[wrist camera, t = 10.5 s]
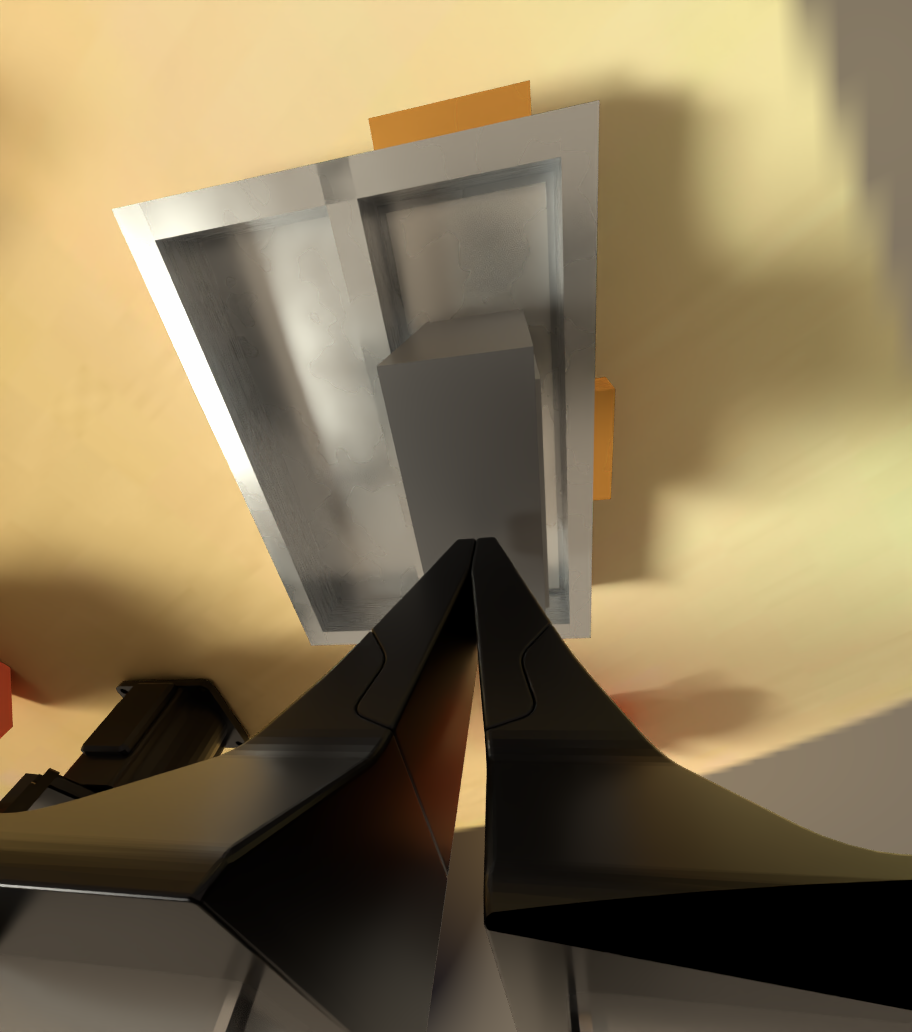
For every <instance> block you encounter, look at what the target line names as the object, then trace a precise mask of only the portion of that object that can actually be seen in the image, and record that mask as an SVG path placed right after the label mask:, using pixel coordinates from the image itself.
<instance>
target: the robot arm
mask: <svg viewBox="0 0 912 1032" xmlns="http://www.w3.org/2000/svg"><path fill="white" fill-rule="evenodd" d="M477 663H478V664H479V676H480V688H481V699H482V711H483V722H484V732H485V746H486V763H487V780H486V819H485V858H484V926H485V929H486V932H487V936H488V939H489V942H490V945H491V949H492V952H493V955H494V958H495V961H496V965H497V968H498V971H499V974H500V978H501V981H502V984H503V987H504V990H505V993H506V997H507V1000H508V1003H509V1007H510V1010H511V1013H512V1016H513V1019H514V1023H515V1026H516V1029H517V1032H912V855H908V854H895V853H887V852H879V851H874V850H869V849H865V848H861V847H857V846H852V845H848V844H846V843H843V842H840V841H837V840H833V839H831V838H828V837H825V836H822V835H820V834H817V833H815V832H813V831H811V830H808V829H806V828H804V827H802V826H799V825H797V824H795V823H793V822H791V821H790V820H787V819H786V818H784V817H781V816H780V815H777V814H776V813H774V812H771V811H770V810H768V809H765V808H764V807H761V806H760V805H758V804H755V803H754V802H752V801H750V800H748V799H745V798H744V797H742V796H740V795H737V794H736V793H733V792H731V791H730V790H727V789H726V788H723V787H722V786H720V785H718V784H716V783H714V782H712V781H709V780H708V779H706V778H704V777H702V776H700V775H698V774H696V773H694V772H692V771H690V770H688V769H686V768H684V767H682V766H680V765H678V764H677V763H675V762H674V761H672V760H671V759H669V758H668V757H667V756H665V755H664V754H663V753H662V752H660V751H659V750H658V749H657V748H656V747H655V746H654V745H653V744H652V743H651V742H649V740H648V739H647V738H646V737H645V736H644V735H643V734H642V733H641V732H640V731H639V730H638V728H637V727H636V726H635V725H634V724H633V723H632V722H631V721H630V719H629V718H628V717H627V716H626V715H625V714H624V713H623V712H622V710H621V709H620V708H619V707H618V706H617V705H616V704H615V703H614V702H613V700H612V699H611V698H610V697H609V696H608V695H607V694H606V693H605V691H604V690H603V689H602V688H601V687H600V686H599V685H598V684H597V682H596V681H595V680H594V679H593V678H592V677H591V675H590V674H589V673H588V672H587V671H586V669H585V668H584V667H583V666H582V665H581V663H580V662H579V661H578V660H577V659H576V657H575V656H574V655H573V653H572V652H571V650H570V649H569V648H568V646H567V645H566V644H565V642H564V641H563V639H562V638H561V636H560V635H559V633H558V632H557V630H556V629H555V627H554V626H552V623H551V621H550V620H549V618H548V617H547V615H546V614H545V612H544V611H543V609H542V608H541V606H540V605H539V603H538V602H537V600H536V599H535V597H534V595H533V594H532V592H531V591H530V589H529V588H528V586H527V585H526V583H525V582H524V580H523V579H522V577H521V576H520V574H519V573H518V571H517V570H516V568H515V566H514V565H513V563H512V562H511V560H510V559H509V557H508V556H507V554H506V553H505V551H504V550H503V548H502V547H501V545H500V544H499V542H498V541H497V539H496V538H495V537H483V538H478V539H477V540H475V539H474V538H469V539H458V540H456V541H455V542H454V543H453V545H452V546H451V547H450V548H449V549H448V550H447V551H446V552H445V553H444V554H443V555H442V556H441V557H440V558H439V559H438V560H437V561H436V562H435V563H434V564H433V566H432V567H431V568H430V569H429V570H428V571H427V572H426V573H425V574H424V575H423V576H422V577H421V578H420V579H419V580H418V581H417V582H416V583H415V584H414V585H413V586H412V588H411V589H410V590H409V591H408V592H407V593H406V594H405V595H404V596H403V597H402V598H401V599H400V600H399V601H398V602H397V603H396V604H395V605H394V606H393V607H392V608H391V610H390V611H389V612H388V613H387V614H386V615H385V616H384V617H383V618H382V619H381V620H380V621H379V622H378V623H377V624H376V625H375V626H374V627H373V628H372V632H371V631H370V632H368V633H367V635H366V636H365V637H364V638H363V639H362V640H361V641H360V642H359V643H358V644H357V645H356V646H355V647H354V648H353V649H352V650H351V651H350V652H349V653H348V654H347V655H346V656H345V657H344V658H343V659H342V660H341V661H340V662H339V663H338V664H337V665H335V666H334V667H333V668H332V669H331V670H330V671H329V672H328V673H327V674H325V675H324V676H323V677H322V678H321V679H320V680H319V681H318V682H317V683H315V684H314V685H313V686H312V687H311V688H310V689H309V690H307V691H306V692H305V693H304V694H303V695H302V696H300V697H299V698H298V699H297V700H296V701H295V702H294V703H292V704H291V705H290V706H289V707H288V708H287V709H285V710H284V711H283V712H282V713H281V714H280V715H279V716H277V717H276V718H275V719H274V720H273V721H272V722H270V723H269V724H268V725H267V726H266V727H265V728H264V729H262V730H261V731H260V732H259V733H257V734H256V735H255V736H254V737H252V738H251V739H249V737H248V736H247V734H246V733H245V731H244V730H243V728H242V727H241V725H240V724H239V722H238V721H237V719H236V718H235V716H234V715H233V713H232V712H231V710H230V709H229V707H228V706H227V704H226V703H225V701H224V700H223V698H222V697H221V695H220V694H219V692H218V691H217V689H216V688H215V687H214V685H213V684H212V683H211V682H209V681H207V680H150V681H122V682H121V683H120V684H119V686H118V687H117V688H116V690H117V692H118V693H119V694H120V695H121V696H122V697H123V699H122V700H121V701H120V702H119V703H118V704H117V705H116V707H115V708H114V709H113V710H112V711H111V712H110V714H109V715H108V716H107V717H106V718H105V719H104V721H103V722H102V723H101V724H100V725H99V726H98V728H97V729H96V730H95V731H94V732H93V733H92V735H91V736H90V737H89V738H88V739H87V740H86V742H85V743H84V744H83V746H82V748H81V751H82V752H83V754H82V755H81V756H80V757H79V758H78V760H77V761H76V762H75V763H74V764H73V765H72V767H71V768H70V769H69V770H68V771H67V773H66V774H65V775H64V776H61V775H59V773H60V772H58V771H55V770H53V769H51V768H49V769H48V770H47V772H46V773H45V774H44V775H40V774H39V775H37V774H27V773H26V774H25V775H24V776H23V777H22V778H21V779H20V780H19V781H18V783H17V784H16V785H15V786H14V787H13V788H12V789H11V790H10V791H9V792H8V793H7V794H6V796H5V797H4V798H3V799H2V800H1V801H0V1032H426V1029H427V1022H428V1015H429V1008H430V1001H431V993H432V986H433V979H434V972H435V965H436V958H437V951H438V943H439V937H440V929H441V922H442V915H443V908H444V900H445V893H446V886H447V877H446V876H447V875H448V871H449V864H450V857H451V849H452V842H453V835H454V828H455V821H456V814H457V807H458V800H459V792H460V785H461V778H462V771H463V764H464V757H465V749H466V742H467V735H468V728H469V721H470V714H471V706H472V699H473V692H474V685H475V678H476V671H477ZM224 748H235V749H233V750H231V751H229V752H227V753H224V754H222V755H221V753H222V751H223V749H224Z"/></svg>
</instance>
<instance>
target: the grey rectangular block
mask: <svg viewBox="0 0 912 1032" xmlns="http://www.w3.org/2000/svg"><path fill="white" fill-rule="evenodd" d="M376 367H377V372H378V376H379V380H380V385H381V389H382V394H383V398H384V402H385V407H386V411H387V415H388V420H389V424H390V429H391V433H392V437H393V442H394V446H395V451H396V455H397V459H398V464H399V468H400V472H401V477H402V481H403V486H404V490H405V494H406V499H407V503H408V507H409V512H410V516H411V521H412V525H413V529H414V534H415V538H416V542H417V547H418V551H419V556H420V560H421V564H422V569H423V573H424V574H425V573H426V572H427V571H428V570H429V569H430V568H431V567H432V566H433V564H434V563H435V562H436V561H437V560H438V559H439V558H440V557H441V556H442V555H443V554H444V553H445V552H446V551H447V550H448V549H449V548H450V547H451V546H452V545H453V543H454V542H455V541H456V540H458V539H469V538H474V539H475V540H477V539H478V538H483V537H495V538H496V539H497V541H498V542H499V544H500V545H501V547H502V548H503V550H504V551H505V553H506V554H507V556H508V557H509V559H510V560H511V562H512V563H513V565H514V566H515V568H516V570H517V571H518V573H519V574H520V576H521V577H522V579H523V580H524V582H525V583H526V585H527V586H528V588H529V589H530V591H531V592H532V594H533V595H534V597H535V599H536V600H537V602H538V603H539V605H540V606H541V608H542V609H543V611H544V612H545V614H546V609H545V608H550V606H549V580H548V555H547V529H546V504H545V478H544V453H543V427H542V402H541V378H540V375H539V371H538V367H537V363H536V360H535V356H534V347H533V343H532V339H531V336H530V332H529V329H528V325H527V322H526V318H525V315H524V311H523V309H520V310H513V311H506V312H499V313H492V314H485V315H478V316H471V317H464V318H457V319H450V320H443V321H436V322H429V323H425V324H424V325H423V326H422V327H421V328H420V329H418V330H417V331H416V332H415V333H414V334H413V335H412V336H410V337H409V338H408V339H407V340H406V341H405V342H404V343H402V344H401V345H400V346H399V347H398V348H397V349H396V350H395V351H393V352H392V353H391V354H390V355H389V356H388V357H387V358H385V359H384V360H383V361H382V362H381V363H380V364H379V365H377V366H376Z"/></svg>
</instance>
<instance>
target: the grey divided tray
mask: <svg viewBox="0 0 912 1032" xmlns="http://www.w3.org/2000/svg"><path fill="white" fill-rule="evenodd" d="M369 124H370V130H371V135H372V140H373V145H374V151H370V152H365V153H361V154H356V155H352V156H347V157H343V158H338V159H334V160H329V161H325V162H321V163H316V164H312V165H307V166H303V167H298V168H294V169H289V170H285V171H280V172H276V173H271V174H267V175H262V176H258V177H253V178H249V179H245V180H240V181H236V182H231V183H227V184H222V185H218V186H213V187H209V188H204V189H200V190H195V191H191V192H186V193H182V194H177V195H173V196H169V197H164V198H160V199H155V200H151V201H146V202H142V203H137V204H133V205H128V206H124V207H119V208H115V209H112V211H113V213H114V215H115V218H116V220H117V222H118V224H119V226H120V229H121V231H122V233H123V235H124V237H125V239H126V242H127V244H128V246H129V248H130V250H131V253H132V255H133V257H134V259H135V261H136V264H137V266H138V268H139V270H140V272H141V274H142V277H143V279H144V281H145V283H146V285H147V288H148V290H149V292H150V294H151V296H152V298H153V301H154V303H155V305H156V307H157V309H158V312H159V314H160V316H161V318H162V320H163V322H164V325H165V327H166V329H167V331H168V333H169V336H170V338H171V340H172V342H173V344H174V346H175V349H176V351H177V353H178V355H179V357H180V360H181V362H182V364H183V366H184V368H185V370H186V373H187V375H188V377H189V379H190V381H191V384H192V386H193V388H194V390H195V392H196V395H197V397H198V399H199V401H200V403H201V405H202V408H203V410H204V412H205V414H206V416H207V419H208V421H209V423H210V425H211V427H212V429H213V432H214V434H215V436H216V438H217V440H218V443H219V445H220V447H221V449H222V451H223V453H224V456H225V458H226V460H227V462H228V464H229V467H230V469H231V471H232V473H233V475H234V477H235V480H236V482H237V484H238V486H239V488H240V491H241V493H242V495H243V497H244V499H245V501H246V504H247V506H248V508H249V510H250V512H251V515H252V517H253V519H254V521H255V523H256V525H257V528H258V530H259V532H260V534H261V536H262V539H263V541H264V543H265V545H266V547H267V550H268V552H269V554H270V556H271V558H272V560H273V563H274V565H275V567H276V569H277V571H278V574H279V576H280V578H281V580H282V582H283V584H284V587H285V589H286V591H287V593H288V595H289V598H290V600H291V602H292V604H293V606H294V608H295V611H296V613H297V615H298V617H299V619H300V622H301V624H302V626H303V628H304V630H305V632H306V635H307V637H308V639H309V641H310V643H311V645H344V644H358V643H359V642H360V641H361V640H362V639H363V638H364V637H365V636H366V635H367V633H368V632H370V631H371V632H372V628H373V627H374V626H375V625H376V624H377V623H378V622H379V621H380V620H381V619H382V618H383V617H384V616H385V615H386V614H387V613H388V612H389V611H390V610H391V608H392V607H393V606H394V605H395V604H396V603H397V602H398V601H399V600H400V599H401V598H402V597H403V596H404V595H405V594H406V593H407V592H408V591H409V590H410V589H411V588H412V586H413V585H414V584H415V583H416V582H417V581H418V580H419V579H420V578H421V577H422V576H423V575H424V573H423V569H422V564H421V560H420V556H419V551H418V547H417V542H416V538H415V534H414V529H413V525H412V521H411V516H410V512H409V507H408V503H407V499H406V494H405V490H404V486H403V481H402V477H401V472H400V468H399V464H398V459H397V455H396V451H395V446H394V442H393V437H392V433H391V429H390V424H389V420H388V415H387V411H386V407H385V402H384V398H383V394H382V389H381V385H380V380H379V376H378V372H377V367H376V366H377V365H379V364H380V363H381V362H382V361H383V360H384V359H385V358H387V357H388V356H389V355H390V354H391V353H392V352H393V351H395V350H396V349H397V348H398V347H399V346H400V345H401V344H402V343H404V342H405V341H406V340H407V339H408V338H409V337H410V336H412V335H413V334H414V333H415V332H416V331H417V330H418V329H420V328H421V327H422V326H423V325H424V324H425V323H429V322H436V321H443V320H450V319H457V318H464V317H471V316H478V315H485V314H492V313H499V312H506V311H513V310H520V309H523V311H524V315H525V318H526V322H527V325H528V329H529V332H530V336H531V339H532V343H533V347H534V356H535V360H536V363H537V367H538V371H539V375H540V378H541V402H542V427H543V453H544V478H545V504H546V529H547V555H548V580H549V606H550V608H545V609H546V615H547V617H548V618H549V620H550V621H551V623H552V626H554V627H555V629H556V630H557V632H558V633H559V635H560V636H561V638H562V639H563V638H591V586H592V524H593V500H605V499H611V481H612V456H613V432H614V407H615V388H614V387H613V386H612V385H611V383H610V382H609V381H608V379H607V378H606V377H602V378H595V339H596V278H597V216H598V155H599V100H598V101H593V102H589V103H584V104H580V105H575V106H571V107H566V108H562V109H558V110H553V111H549V112H544V113H540V114H535V115H531V98H530V80H529V81H525V82H521V83H516V84H512V85H508V86H504V87H500V88H495V89H491V90H487V91H483V92H478V93H474V94H470V95H466V96H462V97H457V98H453V99H449V100H445V101H440V102H436V103H432V104H428V105H424V106H419V107H415V108H411V109H407V110H402V111H398V112H394V113H390V114H386V115H381V116H377V117H373V118H369Z"/></svg>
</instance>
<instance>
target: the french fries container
mask: <svg viewBox="0 0 912 1032" xmlns="http://www.w3.org/2000/svg"><path fill="white" fill-rule="evenodd" d="M12 727H13V721H12V696H11V672H10V667H8V666H7V665H5V664H4V663H2V662H0V738H1V737H2V736H3V735H4V734H5V733H7V732H8V731H9V730H10V729H11V728H12Z"/></svg>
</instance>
